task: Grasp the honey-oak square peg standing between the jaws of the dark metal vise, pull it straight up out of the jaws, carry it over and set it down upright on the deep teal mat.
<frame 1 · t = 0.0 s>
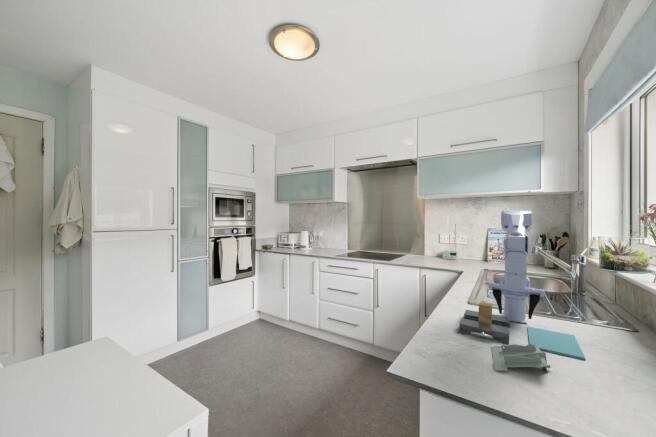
hand: (514, 315, 87), 10 cm above the worktop, tool pointing down, fingers open, 7 cm apart
oak peg: (485, 328, 101), resting in vise
metal bracket: (518, 365, 78), on the worktop
vise: (485, 327, 101), on the worktop
teal mat: (552, 342, 90), on the worktop
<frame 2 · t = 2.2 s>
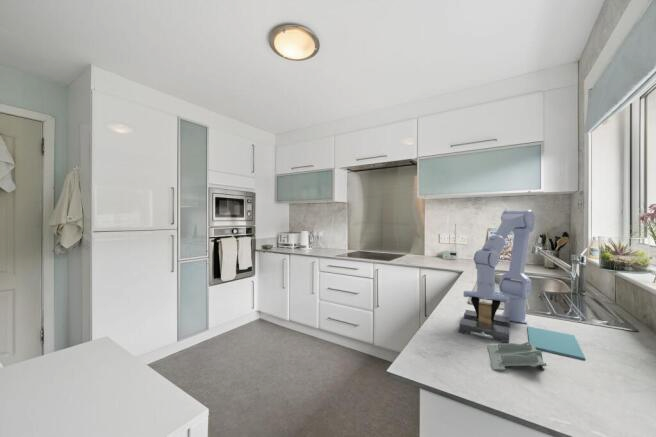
hand: (485, 318, 101), 3 cm above the worktop, tool pointing down, fingers closed on oak peg, 4 cm apart
oak peg: (485, 328, 101), resting in vise, touching gripper
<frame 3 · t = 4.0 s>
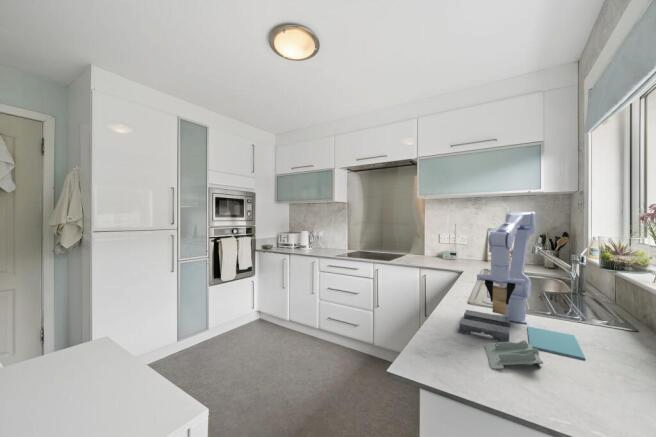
hand: (499, 302, 99), 10 cm above the worktop, tool pointing down, fingers closed on oak peg, 4 cm apart
oak peg: (499, 311, 99), point 7 cm above the worktop, touching gripper
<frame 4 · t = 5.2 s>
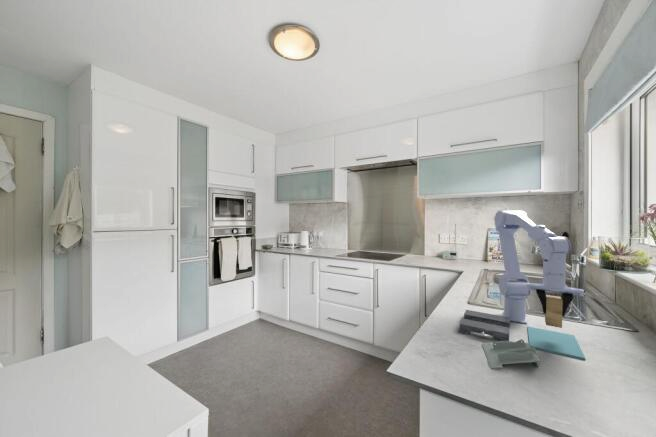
hand: (553, 314, 90), 9 cm above the worktop, tool pointing down, fingers closed on oak peg, 4 cm apart
oak peg: (553, 324, 90), point 6 cm above the worktop, touching gripper
when the fingers open (5 cm above the worktop, at t = 6.3 s): oak peg stays where it is, resting on teal mat.
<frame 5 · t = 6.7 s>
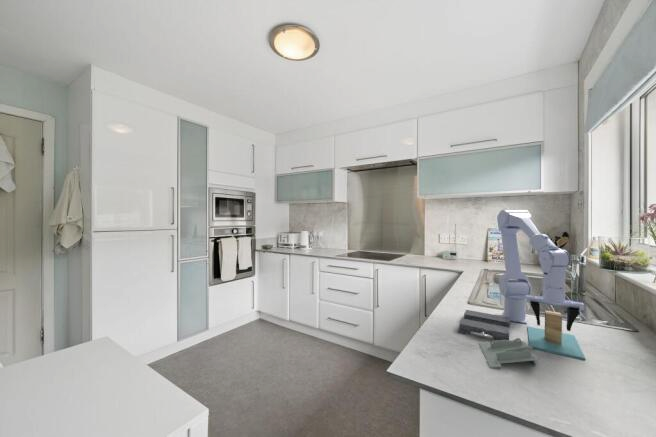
hand: (553, 327, 90), 5 cm above the worktop, tool pointing down, fingers open, 7 cm apart
oak peg: (552, 340, 90), point 1 cm above the worktop, touching teal mat
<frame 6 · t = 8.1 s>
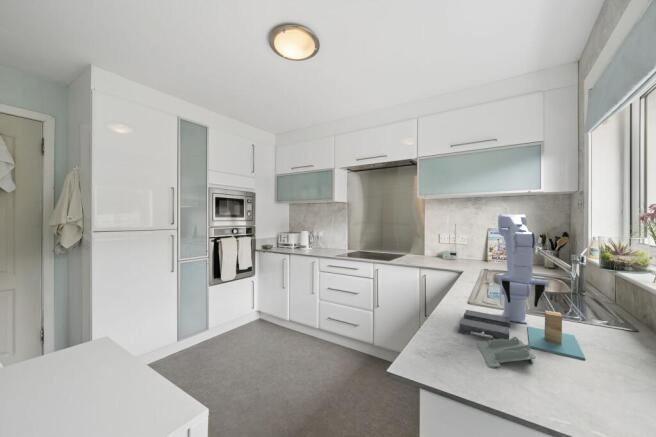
hand: (522, 304, 97), 10 cm above the worktop, tool pointing down, fingers open, 7 cm apart
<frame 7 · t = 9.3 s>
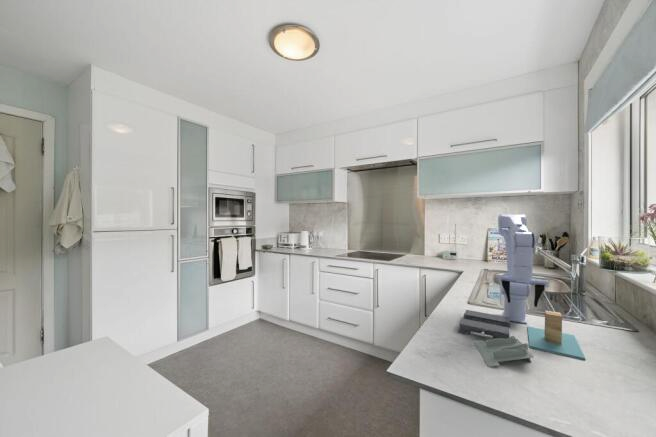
hand: (522, 304, 97), 10 cm above the worktop, tool pointing down, fingers open, 7 cm apart
at the end: oak peg inside the target area on the teal mat (0.1 cm from its centre), point 0.6 cm above the teal mat's base; oak peg tilted 0°; the gripper is holding nothing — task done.
